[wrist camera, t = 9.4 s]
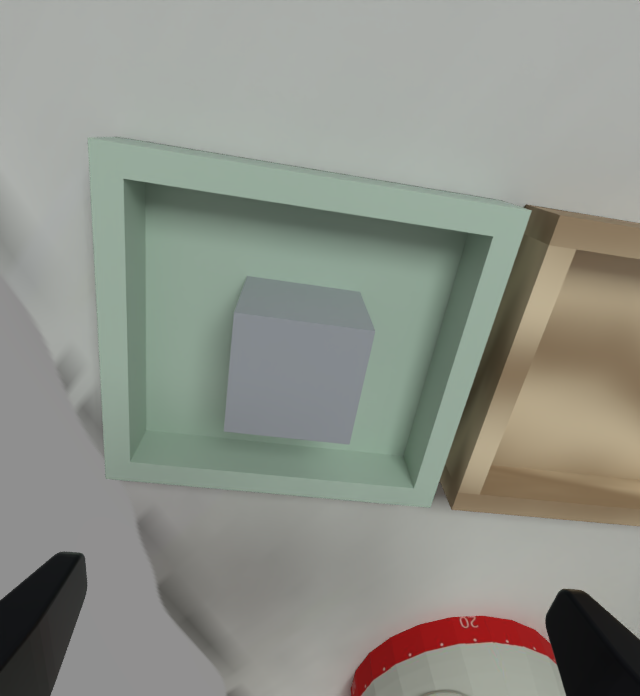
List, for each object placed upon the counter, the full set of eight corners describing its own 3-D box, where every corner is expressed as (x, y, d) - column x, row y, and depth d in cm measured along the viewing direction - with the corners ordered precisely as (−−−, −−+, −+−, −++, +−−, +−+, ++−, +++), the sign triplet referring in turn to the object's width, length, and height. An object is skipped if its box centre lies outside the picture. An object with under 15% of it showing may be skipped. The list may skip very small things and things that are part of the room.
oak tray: (689, 496, 24) (729, 534, 22) (436, 472, 23) (451, 509, 20) (844, 257, 19) (919, 274, 16) (525, 204, 17) (560, 215, 15)
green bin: (417, 470, 23) (430, 507, 20) (126, 441, 21) (105, 478, 19) (501, 200, 17) (531, 210, 15) (117, 136, 16) (87, 137, 13)
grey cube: (340, 388, 20) (349, 444, 16) (237, 376, 20) (223, 431, 16) (360, 291, 18) (375, 331, 15) (246, 275, 18) (233, 312, 14)
